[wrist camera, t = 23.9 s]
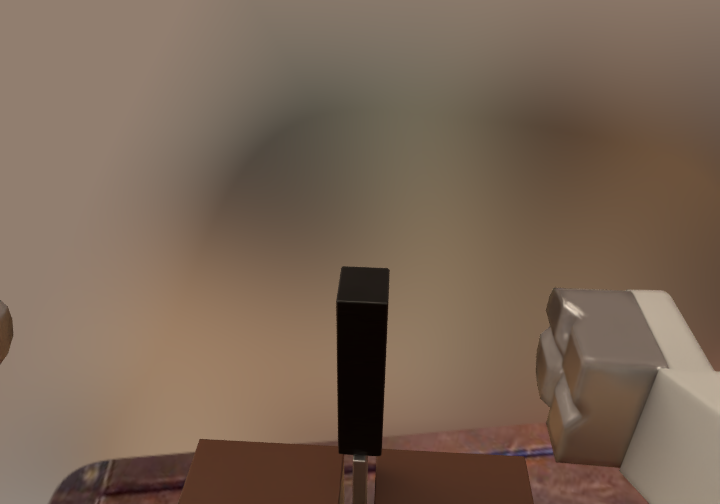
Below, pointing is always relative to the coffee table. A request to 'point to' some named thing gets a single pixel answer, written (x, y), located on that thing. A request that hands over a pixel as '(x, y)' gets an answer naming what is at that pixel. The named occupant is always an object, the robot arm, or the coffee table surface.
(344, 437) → the knife
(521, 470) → the cake right
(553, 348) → the robot arm
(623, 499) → the coffee table surface
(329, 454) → the cake left
